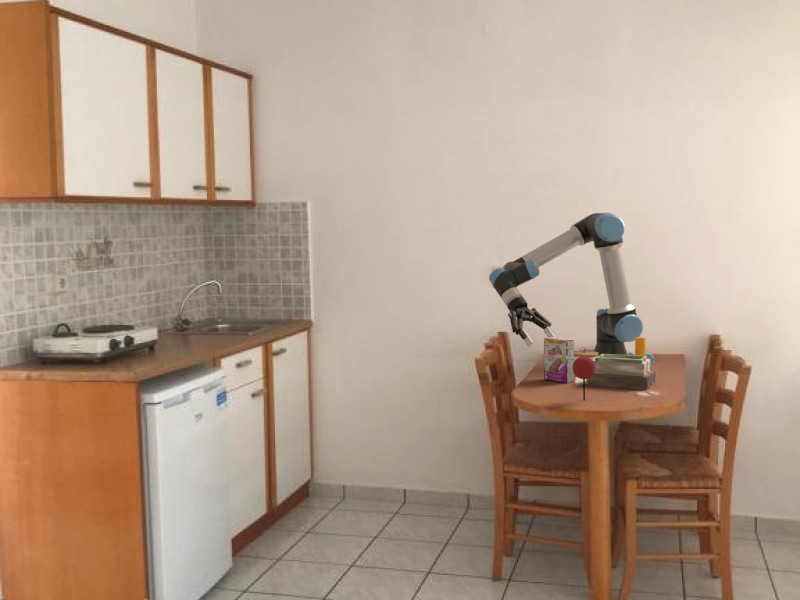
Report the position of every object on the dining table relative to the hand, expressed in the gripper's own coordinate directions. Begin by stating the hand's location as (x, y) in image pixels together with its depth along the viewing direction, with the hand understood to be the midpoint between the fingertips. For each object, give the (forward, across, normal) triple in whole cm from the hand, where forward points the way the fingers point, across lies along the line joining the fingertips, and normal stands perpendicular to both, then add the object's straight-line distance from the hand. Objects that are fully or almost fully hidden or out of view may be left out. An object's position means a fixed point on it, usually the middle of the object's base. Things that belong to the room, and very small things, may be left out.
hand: (542, 343), depth 355 cm
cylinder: (+25, -33, +5) cm, 42 cm away
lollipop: (+36, +21, +17) cm, 45 cm away
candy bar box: (+15, -1, -5) cm, 16 cm away
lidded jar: (+10, -25, -10) cm, 29 cm away
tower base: (+29, -13, +10) cm, 33 cm away
